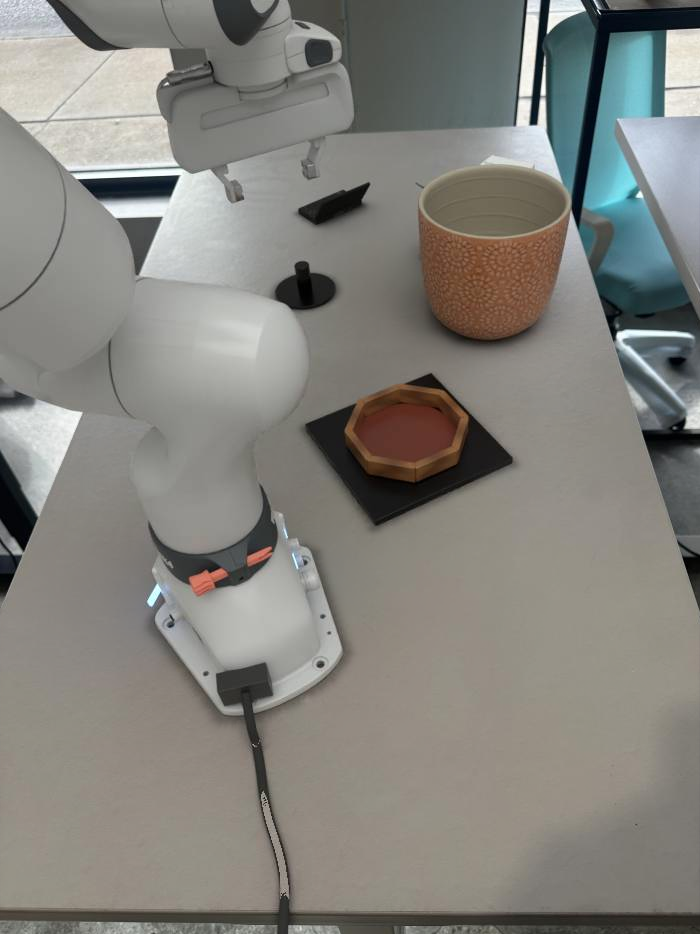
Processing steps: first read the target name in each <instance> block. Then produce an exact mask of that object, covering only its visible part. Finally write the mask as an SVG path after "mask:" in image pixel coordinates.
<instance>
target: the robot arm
mask: <svg viewBox="0 0 700 934" xmlns="http://www.w3.org/2000/svg"><path fill="white" fill-rule="evenodd" d="M45 1H46V2H47V3H48V4H49V6H50V7H51V9H52V10H54V12H55V13H56V14H57V16H58V17H59V19H60V20H61V21H62V23H63V24H64V25H65V26H66V28H67V29H68V30H69V31H70V32H71V33H72V34H73V35H74V36H75V38H77V40H79V41H80V42H81V43H82V44H84V45H85V46H86V47H88V48H90V49H91V50H93V51H98V52H110V51H111V52H112V51H122V50H123V51H124V50H132V49H175V50H176V49H178V50H180V49H181V50H184V49H186V50H187V49H188V50H191V49H204V51H205V54H206V55H205V56H206V60H207V61H205V62H202V63H198V64H194V65H191V66H189V67H187V68H182V69H173V70H170V71H168V72H166V73H165V77H164V78H162V79H161V80H160V81H159V83H158V84H157V87H156V90H155V98H156V101H157V105H158V109H159V112H160V115H161V116H162V118H163V120H165V121H166V128H167V134H168V140H169V146H170V150H171V151H170V152H171V154H172V157H173V159H174V161H175V163H176V164H177V165H178V166H179V167H180V168H181V169H182V170H184V171H185V172H187V173H188V174H190V175H195V174H198V173H201V172H204V171H209V170H210V171H211V173H213V175H214V176H215V177H216V178H217V179H218V180H219V181H220V182H221V183H222V184H223V187H224V190H225V195H226V198H227V200H228V201H229V203H230V204H236V203H238V202H241V201H244V200H245V195H244V194H243V191H244V190H243V186H242V185H241V183H239V181H238V180H237V179H232V180H229V179H228V178H227V177H226V175H228V174H229V171H230V170H229V167H228V165H229V164H233V163H237V162H240V161H243V160H247V159H250V158H254V157H257V156H260V155H264V154H267V153H271V152H274V151H279V150H282V149H285V148H289V147H292V146H295V145H299V144H302V143H306V142H308V143H309V144H310V146H309V150H308V153H307V155H306V158H304V159H301V160H300V164H301V165H300V166H301V167H302V169H301V172H302V175H303V177H304V178H305V179H306V180H307V181H312V180H313V179H317V178H320V177H321V170H320V162H321V160H322V157H323V154H324V152H325V149H326V147H327V138H326V137H327V136H330V135H333V134H337V133H341V132H344V131H347V130H349V129H350V127H351V126H352V124H353V122H354V119H355V106H354V97H353V92H352V91H353V90H352V85H351V81H350V76H349V74H348V71H347V68H346V67H345V66H344V64H342V63H341V62H339V61H340V60H341V59H342V53H343V51H342V43H341V40H340V39H338V38H337V36H335V35H334V34H333V33H331V32H330V31H328V30H327V29H325V28H323V27H321V26H319V25H318V24H315V23H312V22H309V21H303V20H297V19H292V9H291V6H290V3H289V1H288V0H45ZM135 267H136V266H135V260H134V254H133V250H132V246H131V242H130V240H129V237H128V235H127V233H126V231H125V229H124V227H123V226H122V224H121V223H120V221H119V220H118V219H117V218H116V217H115V216H114V215H113V213H111V212H110V210H108V209H107V208H106V207H105V206H104V205H103V204H102V203H101V201H99V199H98V198H97V197H96V196H94V195H93V194H92V192H90V191H89V190H88V188H86V186H84V185H83V184H82V183H81V182H80V181H79V180H78V179H77V178H76V177H75V176H74V175H73V174H72V173H71V172H70V170H68V169H67V168H66V166H64V165H63V164H62V163H61V162H60V161H59V160H58V159H57V158H56V157H55V156H54V155H53V154H52V153H51V152H50V151H49V150H48V149H47V148H46V147H45V146H44V145H43V144H42V143H41V142H40V141H39V140H38V139H37V138H36V137H35V136H34V135H33V134H32V133H31V132H30V131H28V129H26V128H25V126H23V124H22V123H20V122H19V121H18V120H17V119H16V118H14V117H13V116H12V115H11V114H10V113H9V112H7V111H6V109H4V108H3V107H2V106H0V379H1V380H2V382H3V383H4V384H5V385H6V386H8V387H9V388H10V389H11V390H14V391H15V392H17V393H20V394H21V395H22V394H23V395H26V396H27V397H30V398H33V399H35V400H38V401H41V402H44V403H46V404H49V405H52V406H55V407H57V408H62V409H63V410H64V409H65V410H68V411H71V412H77V413H85V414H92V415H101V416H107V417H114V418H121V419H127V420H128V419H129V420H136V421H140V422H146V423H148V424H150V425H152V426H153V427H151V428H150V429H149V430H148V431H147V432H146V433H144V435H142V436H141V438H140V439H139V441H138V442H137V444H136V446H135V447H134V449H133V453H132V456H131V460H130V467H129V478H130V483H131V486H132V488H133V491H134V493H135V495H136V497H137V499H138V501H139V503H140V505H141V508H142V509H143V512H144V514H145V516H146V518H147V520H148V521H147V524H148V526H147V527H148V531H149V535H150V538H151V542H152V544H153V547H154V548H155V551H156V553H157V557H156V559H155V561H154V564H153V566H152V569H151V573H152V576H153V578H154V580H155V582H156V585H155V587H154V588H153V591H152V592H151V593H150V596H149V597H148V600H146V601H147V604H148V605H149V607H153V606H154V604H155V602H156V600H157V598H158V597H159V595H160V593H161V595H162V596H163V599H164V603H162V605H161V606H160V608H159V609H158V610H157V612H156V614H155V616H154V622H155V626H156V628H157V629H158V631H159V632H160V633H161V635H162V636H163V638H164V639H165V640H166V642H167V643H168V644H169V646H170V647H171V648H172V650H173V651H174V652H175V653H176V655H177V657H178V658H179V659H180V661H181V662H182V663H183V664H184V665H185V667H186V668H187V670H188V671H189V672H190V673H191V675H192V676H193V678H194V679H195V680H196V682H197V683H198V684H199V686H200V688H202V690H203V691H204V692H205V694H206V695H207V696H208V698H209V699H210V700H211V702H212V703H213V704H214V706H215V707H216V708H217V710H218V712H220V713H221V714H223V715H224V716H235V717H238V716H239V717H240V716H244V722H245V727H246V731H247V734H248V735H247V736H248V738H249V741H250V745H251V750H252V755H253V760H254V768H255V775H256V776H255V777H256V784H257V792H258V798H259V803H260V804H259V805H260V809H261V814H262V818H263V822H264V826H265V830H266V832H267V836H268V838H269V842H270V845H271V848H272V852H273V855H274V858H275V864H276V869H277V876H278V884H279V888H280V872H279V866H278V861H277V857H276V853H275V849H274V846H273V843H272V840H271V836H270V833H269V830H268V827H267V824H266V820H265V816H264V812H263V807H262V801H261V794H262V792H263V791H264V793H265V795H266V797H267V800H268V804H269V808H270V812H271V816H272V820H273V823H274V826H275V829H276V832H277V835H278V838H279V842H280V845H281V848H282V852H283V856H284V860H285V865H286V872H287V878H288V885H289V894H290V895H291V880H290V871H289V865H288V861H287V855H286V852H285V848H284V844H283V842H282V838H281V835H280V832H279V829H278V825H277V823H276V820H275V817H274V812H273V809H272V803H271V798H270V793H269V792H270V791H269V786H268V778H267V771H266V764H265V758H264V757H265V756H264V752H263V747H262V742H261V738H260V735H259V732H258V728H257V723H256V719H255V714H257V713H262V712H263V711H267V710H270V709H273V708H275V707H277V706H280V705H282V704H284V703H286V702H288V701H291V700H293V699H294V698H296V697H298V696H300V695H301V694H303V693H305V692H307V691H308V690H310V689H311V688H313V687H314V686H316V685H317V684H319V683H320V682H321V681H322V680H323V679H325V678H326V677H327V676H328V675H329V674H330V673H332V671H333V670H334V669H335V667H336V666H337V665H338V664H339V662H340V661H341V659H342V658H343V656H344V649H343V644H342V642H341V639H340V635H339V633H338V629H337V627H336V623H335V620H334V617H333V613H332V611H331V608H330V605H329V602H328V598H327V595H326V592H325V589H324V587H323V584H322V581H321V577H320V574H319V571H318V568H317V565H316V562H315V559H314V556H313V553H312V551H311V550H310V548H308V547H306V546H302V545H300V541H299V538H298V537H293V538H290V539H289V536H288V532H287V528H286V523H285V518H284V514H283V513H282V512H278V510H273V506H272V504H271V502H270V498H269V497H268V495H267V493H266V491H265V489H264V487H263V485H262V483H260V481H259V478H258V473H257V468H256V463H255V456H254V445H255V442H256V440H257V439H258V438H259V437H260V436H261V435H264V433H266V432H267V431H270V430H271V429H274V428H276V427H278V426H280V425H281V424H282V423H284V422H285V421H286V420H287V419H288V418H289V417H290V416H291V415H292V414H293V413H294V411H295V410H296V408H297V407H298V406H299V404H300V403H301V401H302V400H303V398H304V395H305V393H306V390H307V388H308V384H309V381H310V375H311V368H312V367H311V366H312V365H311V364H312V363H311V362H312V361H311V359H312V358H311V351H310V350H311V349H310V345H309V341H308V337H307V335H306V332H305V329H304V328H303V325H302V323H301V321H300V320H299V318H298V317H297V315H296V313H295V312H294V311H293V310H292V309H291V308H289V307H288V306H287V305H286V304H284V303H281V302H278V300H275V299H273V298H270V297H267V296H265V295H261V294H258V293H254V292H251V291H248V290H245V289H242V288H238V287H235V286H231V285H227V284H218V283H217V284H215V283H205V282H195V281H187V280H186V281H185V280H177V279H175V280H174V279H166V278H165V279H164V278H156V277H149V276H143V275H137V274H136V268H135ZM170 626H171V627H170ZM320 665H323V666H322V667H318V666H320ZM259 740H260V742H259ZM251 743H252V744H254V745H255V746H257V747H254V746H253V745H252V744H251ZM258 743H259V744H258ZM263 799H265V797H264V798H263ZM264 801H266V799H265V800H264ZM265 803H267V802H265ZM265 803H264V804H265ZM264 804H263V805H264ZM265 806H266V805H265ZM281 894H282V893H281ZM284 894H286V892H285V893H283V894H282V896H281V899H280V898H279V901H280V902H278V915H277V927H276V928H277V929H276V934H289V925H290V924H289V923H290V910H291V907H290V908H289V899H288V897H287V896H286V895H285V896H284Z"/></svg>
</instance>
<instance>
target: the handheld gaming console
mask: <svg viewBox="0 0 700 934" xmlns="http://www.w3.org/2000/svg"><path fill="white" fill-rule="evenodd" d="M370 186H371V182H370V181H368V182H366V183H365V182H364V183H362V184H361V185H358V186H356V187H354V188H351V189H349V190H345V189H341V190H338V191H336V192H334V193H331V194H328V195H327V196H324V197H322V198H320V199H317V200H315V201H313V202H309V203H308V204H306V205H303V206H300V207H299V208H298V209H297V211H298V214H299V215H300V216H301V217H304V218H305V219H307V220H309V221H310V222H311V223H313V224H314V225H318V224H322V223H323V222H325V221H328V220H330V219H332V218H335V216H338V215H340V214H343V213H346V212H348V211H351V210H353V209H355V208H358V207H360V206H362V205H363V199H364V197H365V195H366V193H367V192H368V190H369V188H370Z"/></svg>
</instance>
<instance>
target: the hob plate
mask: <svg viewBox="0 0 700 934" xmlns="http://www.w3.org/2000/svg"><path fill="white" fill-rule="evenodd" d="M404 384H405V385H412V386H419V387H426V388H433V389H439V390H442V391H445V392H446V393H447V394H448V395H449V396H450V398H451V399H452V400H453V401H454V402H455V403H456V404H457V405H458V406H459V407H460V408H461V409H462V410H463V411H464V412H465V413H466V414H467V415H468V417H469V421H468V433H467V436H466V439H465V442H464V446H463V449H462V452H461V456H460V459H459V462H458V463H457V464H456V465H454V466H451V467H449V468H447V469H445V470H442V471H440V472H438V473H436V474H434V475H431V476H429V477H427V478H425V479H422V480H420V481H418V482H416V481H415V482H409V481H404V480H398V479H392V478H387V477H381V476H375V475H370V474H369V473H367V472H366V471H365V469H364V468H363V467H362V465H361V464H360V463H359V461H358V460H357V459H356V457H355V456H354V455H353V453H352V452H351V451H350V449H349V448H348V447H347V445H346V439H345V431H344V430H345V428H346V426H347V424H348V421H349V419H350V417H351V415H352V413H353V411H354V408H355V406H356V404H357V402H355V403H353V404H351V405H348V406H346V407H343V408H341V409H338V410H335V411H334V412H330V413H328V414H326V415H323V416H321V417H319V418H316V419H313V420H311V421H309V422H305V425H304V426H305V430H306V431H307V432H308V434H309V436H310V437H311V438H312V440H313V441H314V442H315V443H316V445H317V446H318V448H319V449H320V450H321V452H322V453H323V455H324V456H325V458H326V459H327V460H328V461H329V463H330V464H331V466H332V467H333V468H334V470H335V472H336V473H337V474H338V476H339V478H341V479H342V481H343V482H344V484H345V485H346V487H347V488H348V489H349V491H350V492H351V493H352V495H353V497H354V498H355V499H356V501H357V502H358V503H359V505H360V506H361V507H362V509H363V510H364V511H365V513H366V514H367V515H368V518H370V520H371V521H372V523H373V524H374V526H379V525H381V524H383V523H387V522H388V521H390V520H392V519H394V518H396V517H399V516H400V515H403V514H405V513H408V512H410V511H411V510H414V509H417V508H418V507H420V506H423V505H425V504H427V503H429V502H431V501H433V500H436V499H437V498H439V497H442V496H444V495H446V494H448V493H450V492H453V491H455V490H457V489H459V488H462V487H464V486H465V485H467V484H471V483H472V482H474V481H476V480H480V479H482V478H483V477H485V476H487V475H489V474H492V473H494V472H496V471H498V470H500V469H502V468H504V467H507V466H508V465H511V464H513V462H514V457H513V456H512V455H511V454H510V453H509V452H508V451H507V450H506V449H505V448H504V447H503V446H502V445H501V444H500V443H499V441H498V440H496V438H495V437H494V436H493V435H492V434H491V433H490V432H489V431H488V430H487V429H486V428H485V427H484V425H482V424H481V423H480V422H479V420H477V419H476V418H475V417H474V416H473V414H471V413H470V411H469V410H468V409H467V408H466V407H464V405H463V404H462V403H461V402H460V401H459V400H458V399H457V398H456V397H455V396H454V395H453V394H452V393H451V392H450V390H448V388H446V387H445V386H444V385H443V383H442V382H440V380H438V378H436V376H435V374H433V373H432V372H430V373H428V374H424V375H422V376H420V377H418V378H415V379H412V380H410V381H408V382H405V383H404ZM456 431H457V427H456V426H455V425H454V424H453V423H452V422H451V421H450V420H449V419H448V418H447V417H446V415H445V414H444V413H443V412H442V411H441V410H440V409H439V408H436V407H429V406H423V405H416V404H410V403H403V402H399V403H397V404H395V405H392V406H390V407H387V408H385V409H382V410H380V411H377V412H375V413H373V414H370V415H368V416H366V417H365V419H364V421H363V424H362V426H361V428H360V431H359V433H358V435H357V437H358V438H359V440H360V441H361V442H362V443H363V445H364V446H365V447H366V449H367V450H368V451H369V452H370V454H371V455H372V456H377V457H383V458H389V459H395V460H401V461H407V462H412V463H415V462H418V461H420V460H422V459H424V458H427V457H429V456H431V455H433V454H436V453H438V452H440V451H443V450H445V449H447V448H449V447H452V443H453V440H454V437H455V434H456Z"/></svg>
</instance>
